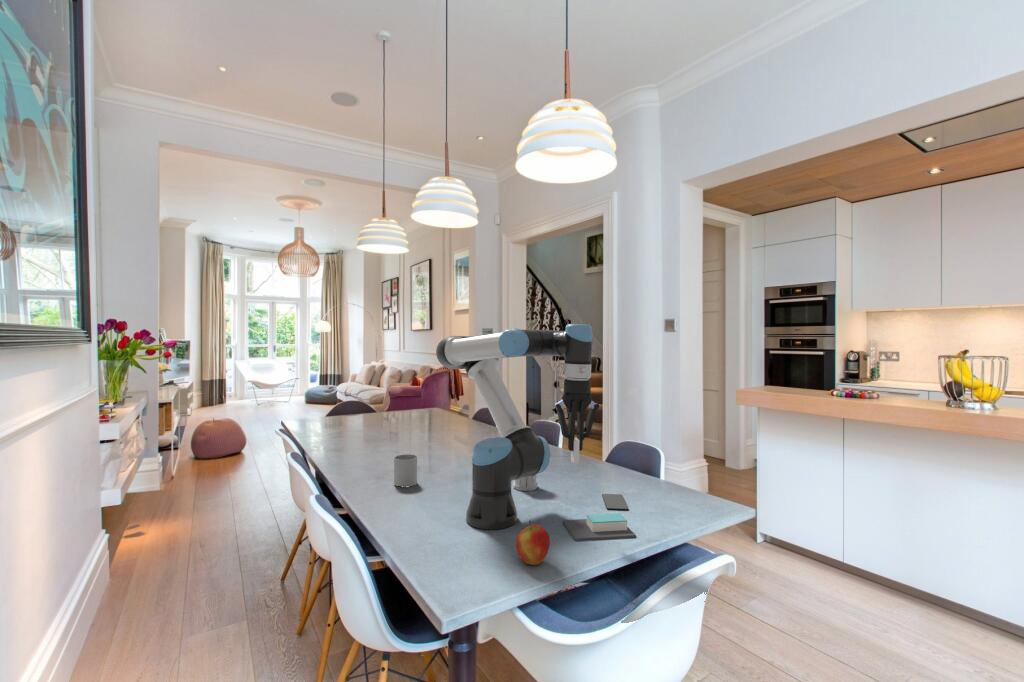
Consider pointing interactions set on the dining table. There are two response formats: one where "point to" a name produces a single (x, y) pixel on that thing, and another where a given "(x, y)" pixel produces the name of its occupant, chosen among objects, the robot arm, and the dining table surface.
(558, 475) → the dining table surface
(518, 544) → the apple
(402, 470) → the cup
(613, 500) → the smartphone
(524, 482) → the cup
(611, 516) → the teal white block
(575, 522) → the mat
